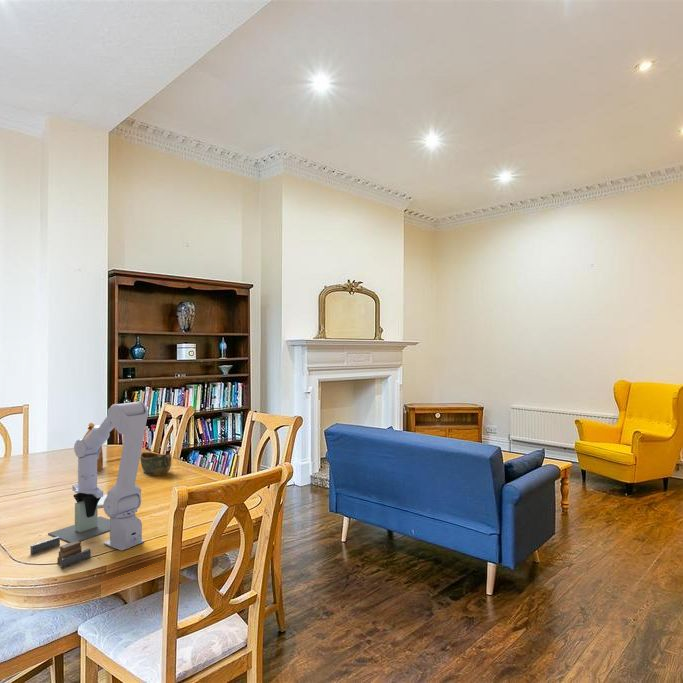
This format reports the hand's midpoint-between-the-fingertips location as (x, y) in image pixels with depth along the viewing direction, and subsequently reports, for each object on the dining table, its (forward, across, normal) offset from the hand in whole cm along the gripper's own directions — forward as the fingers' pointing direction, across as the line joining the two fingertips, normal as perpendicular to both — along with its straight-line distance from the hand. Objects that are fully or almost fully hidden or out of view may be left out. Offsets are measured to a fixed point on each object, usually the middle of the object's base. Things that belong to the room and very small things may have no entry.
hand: (87, 515), depth 164 cm
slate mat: (+5, 0, 0) cm, 5 cm away
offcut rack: (+5, +12, -16) cm, 20 cm away
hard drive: (+6, -21, +20) cm, 30 cm away
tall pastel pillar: (+4, 0, 0) cm, 4 cm away
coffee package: (+5, -70, +44) cm, 83 cm away
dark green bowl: (+5, -39, +57) cm, 69 cm away
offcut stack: (+5, +17, -16) cm, 24 cm away
